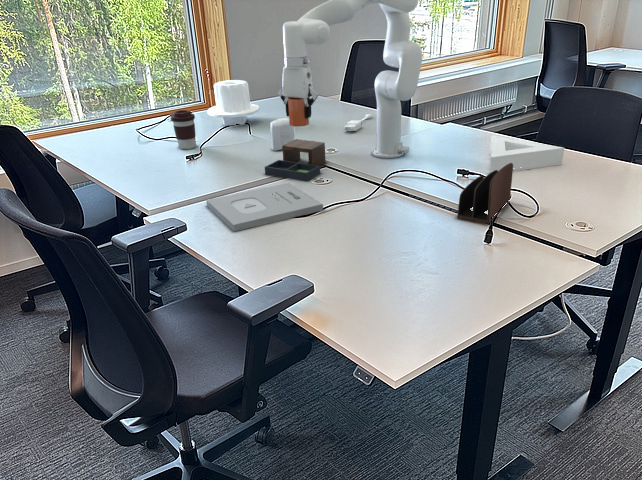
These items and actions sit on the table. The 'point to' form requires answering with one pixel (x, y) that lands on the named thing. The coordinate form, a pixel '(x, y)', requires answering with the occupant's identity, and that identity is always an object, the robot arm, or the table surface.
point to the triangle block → (522, 154)
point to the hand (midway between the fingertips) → (298, 116)
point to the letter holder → (486, 196)
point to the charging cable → (355, 124)
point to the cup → (297, 112)
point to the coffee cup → (184, 128)
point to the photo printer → (281, 133)
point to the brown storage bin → (311, 147)
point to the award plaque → (263, 206)
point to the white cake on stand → (232, 102)
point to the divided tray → (292, 170)
